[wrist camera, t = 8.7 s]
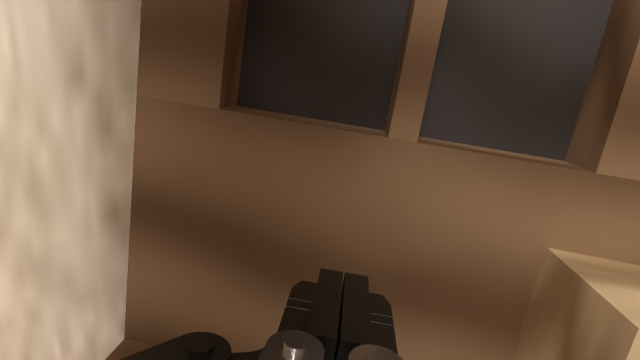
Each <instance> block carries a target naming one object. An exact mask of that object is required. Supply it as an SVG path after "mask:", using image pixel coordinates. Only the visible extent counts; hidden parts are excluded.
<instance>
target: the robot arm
mask: <svg viewBox="0 0 640 360" xmlns="http://www.w3.org/2000/svg"><path fill="white" fill-rule="evenodd" d="M342 281H343V286H342ZM392 316H393V315H392V308H391V304H390V303H389V302H388V301H387V299H386V298H385V297H384V296H383V295H380V294H375V293H369V281H368V276H364V275H358V274H353V273H347V272H345V275H344V280H343V272H341V271H336V270H330V269H324V268H321V269H320V273H319V278H318V283H313V282H308V281H302V280H301V281H300V282H298V283H297V284H296V285H294V286H293V287H292V288H291V291H290V294H289V298H288V300H287V304H286V307H285V310H284V313H283V316H282V319H281V322H280V325H279V328H278V331H277V333H275V334H273V335H272V336H271V337H270V338H269V339H268V340H267V342H266V344H265V346H264V348H262V349H259V350H256V351H251V352H238V353H231V346H230V344H229V342H228V341H227V340H226V339H225V338H223V337H222V336H220V335H217V334H215V333H210V332H192V333H188V334H184V335H182V336H179V337H176V338H174V339H171V340H169V341H166V342H163V343H161V344H158V345H155V346H153V347H150V348H148V349H145V350H142V351H140V352H137V353H134V354H132V355H129V356H127V357H124V358H121V359H119V360H403V359H402V358H401V357H400V356H399V355H398V351H397V344H396V337H395V330H394V322H393V318H392Z"/></svg>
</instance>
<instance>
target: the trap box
mask: <svg viewBox="0 0 640 360" xmlns="http://www.w3.org/2000/svg"><path fill="white" fill-rule="evenodd" d="M547 247H548V248H553V249H558V250H563V251H568V252H573V253H579V254H584V255H589V256H594V257H599V258H604V259H609V260H614V261H620V262H625V263H630V264H635V265H640V0H142V6H141V26H140V45H139V65H138V84H137V104H136V123H135V143H134V162H133V182H132V201H131V221H130V240H129V260H128V279H127V299H126V318H125V338H124V340H123V341H122V342H121V343H120V344H119V345H118V347H117V348H116V349H115V350H114V351H113V352H112V353H111V354H110V355H109V356H108V357H107V359H106V360H119V359H121V358H124V357H127V356H129V355H132V354H134V353H137V352H140V351H142V350H145V349H148V348H150V347H153V346H155V345H158V344H161V343H163V342H166V341H169V340H171V339H174V338H176V337H179V336H182V335H184V334H188V333H192V332H210V333H215V334H217V335H220V336H222V337H223V338H225V339H226V340H227V341H228V342H229V344H230V346H231V353H238V352H251V351H256V350H259V349H262V348H264V346H265V344H266V342H267V340H268V339H269V338H270V337H271V336H272V335H273V334H275V333H277V331H278V328H279V325H280V322H281V319H282V316H283V313H284V310H285V307H286V304H287V300H288V298H289V294H290V291H291V288H292V287H293V286H294V285H296V284H297V283H298V282H300V281H301V280H302V281H308V282H313V283H318V278H319V273H320V269H321V268H324V269H330V270H336V271H341V272H343V280H344V275H345V272H347V273H353V274H358V275H364V276H368V281H369V293H375V294H380V295H383V296H384V297H385V298H386V299H387V301H388V302H389V303H390V304H391V308H392V315H393V316H392V318H393V322H394V330H395V337H396V344H397V351H398V355H399V356H400V357H401V358H402V359H403V360H510V358H511V355H512V352H513V349H514V346H515V343H516V340H517V337H518V334H519V331H520V328H521V325H522V322H523V319H524V316H525V313H526V310H527V307H528V304H529V301H530V298H531V295H532V292H533V289H534V286H535V283H536V279H537V276H538V273H539V270H540V267H541V264H542V261H543V258H544V255H545V252H546V249H547ZM342 286H343V281H342Z"/></svg>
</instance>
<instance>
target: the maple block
mask: <svg viewBox="0 0 640 360" xmlns="http://www.w3.org/2000/svg"><path fill="white" fill-rule="evenodd" d="M510 360H640V265H635V264H630V263H625V262H620V261H614V260H609V259H604V258H599V257H594V256H589V255H584V254H579V253H573V252H568V251H563V250H558V249H553V248H548V247H547V249H546V252H545V255H544V258H543V261H542V264H541V267H540V270H539V273H538V276H537V279H536V283H535V286H534V289H533V292H532V295H531V298H530V301H529V304H528V307H527V310H526V313H525V316H524V319H523V322H522V325H521V328H520V331H519V334H518V337H517V340H516V343H515V346H514V349H513V352H512V355H511V358H510Z"/></svg>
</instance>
